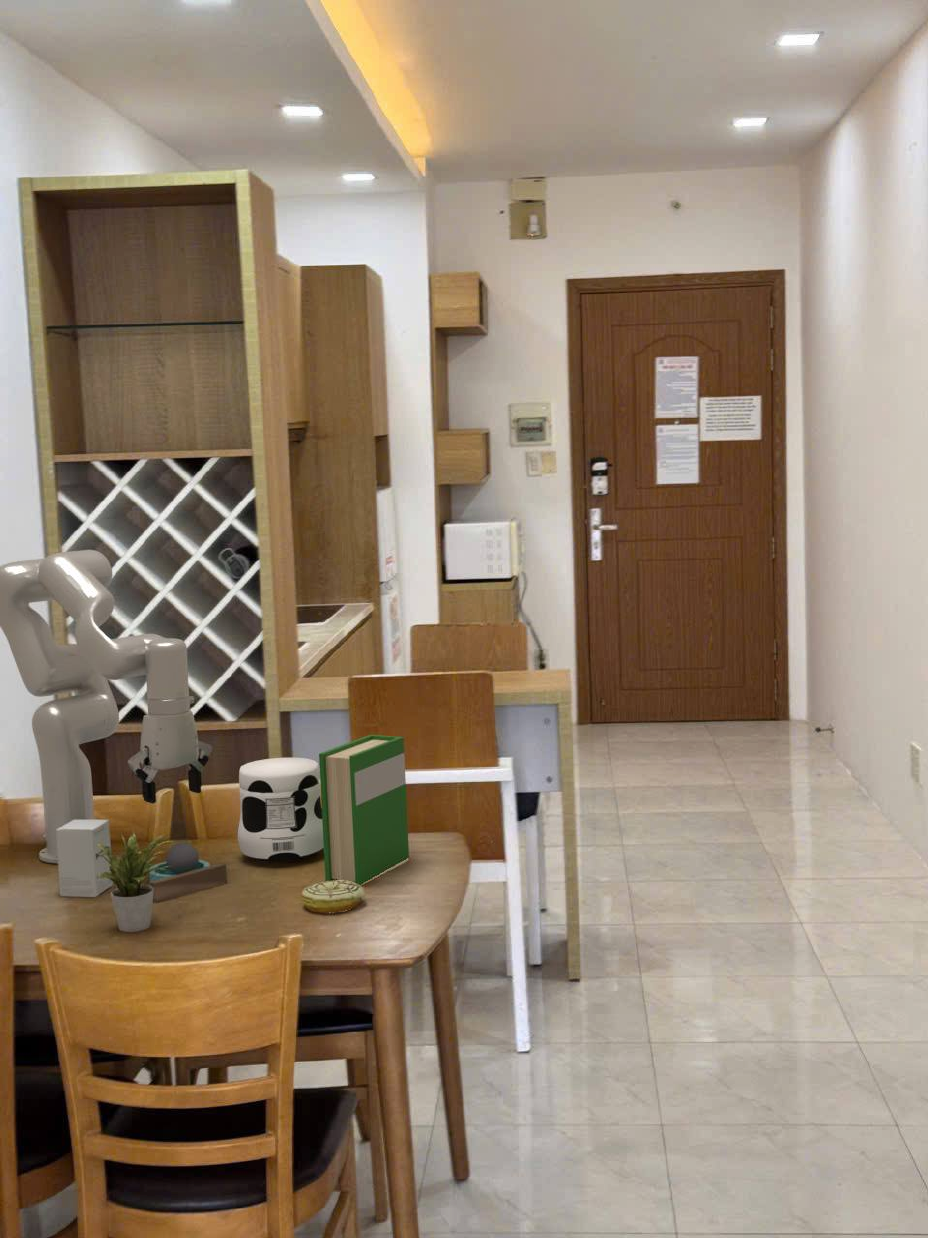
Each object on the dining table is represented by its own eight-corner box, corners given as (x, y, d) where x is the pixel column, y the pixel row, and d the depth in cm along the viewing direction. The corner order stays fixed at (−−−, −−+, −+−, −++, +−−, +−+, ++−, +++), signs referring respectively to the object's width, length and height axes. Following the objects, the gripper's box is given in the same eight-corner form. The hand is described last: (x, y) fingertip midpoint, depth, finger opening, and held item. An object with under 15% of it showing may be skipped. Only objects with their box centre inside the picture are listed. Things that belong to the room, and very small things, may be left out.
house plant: (195, 930, 241) (189, 834, 239) (115, 948, 234) (108, 849, 232) (164, 909, 253) (158, 817, 251) (86, 926, 245) (79, 831, 244)
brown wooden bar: (151, 901, 258) (150, 882, 257) (222, 881, 268) (221, 863, 267) (156, 903, 257) (155, 883, 256) (227, 883, 267) (226, 864, 266)
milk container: (290, 839, 295) (285, 752, 293) (346, 853, 283) (341, 763, 281) (220, 858, 283) (215, 768, 281) (276, 874, 271) (271, 780, 269)
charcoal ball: (157, 871, 270) (163, 839, 270) (184, 872, 274) (190, 841, 275) (174, 877, 266) (180, 844, 266) (201, 878, 270) (207, 846, 270)
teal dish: (138, 881, 270) (137, 869, 270) (189, 867, 278) (188, 855, 277) (170, 892, 262) (169, 880, 262) (221, 878, 270) (220, 866, 270)
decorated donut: (377, 904, 252) (376, 883, 251) (330, 920, 244) (329, 899, 243) (336, 893, 259) (335, 872, 258) (290, 908, 251) (289, 887, 251)
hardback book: (360, 887, 261) (353, 756, 258) (325, 882, 265) (318, 753, 262) (409, 860, 277) (403, 737, 274) (376, 856, 280) (370, 734, 277)
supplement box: (97, 898, 261) (92, 829, 259) (59, 897, 262) (54, 829, 261) (114, 885, 268) (110, 818, 267) (77, 884, 270) (73, 818, 268)
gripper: (197, 697, 275) (201, 785, 277) (116, 710, 263) (120, 802, 265) (219, 702, 269) (223, 791, 272) (138, 716, 258) (142, 809, 260)
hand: (172, 797), depth 268 cm, fingers open, 9 cm apart
